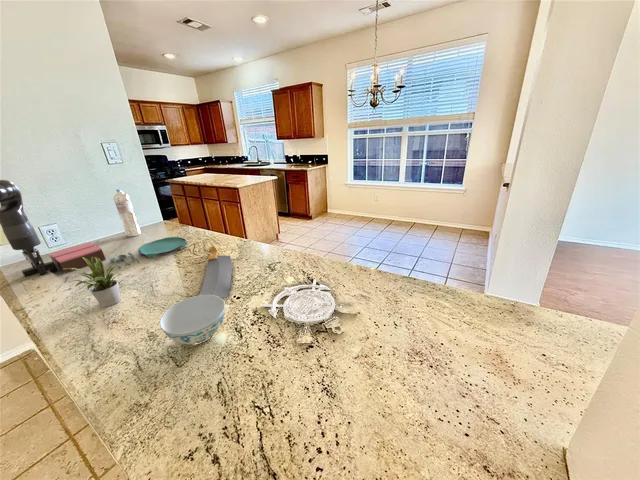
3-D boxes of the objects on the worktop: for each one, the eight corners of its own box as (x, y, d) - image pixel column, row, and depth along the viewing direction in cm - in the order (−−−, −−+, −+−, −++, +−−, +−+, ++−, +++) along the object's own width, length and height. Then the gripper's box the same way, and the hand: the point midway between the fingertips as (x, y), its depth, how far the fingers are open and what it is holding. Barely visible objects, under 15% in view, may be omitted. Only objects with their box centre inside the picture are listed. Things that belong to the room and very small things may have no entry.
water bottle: (123, 236, 142) (106, 190, 132) (135, 232, 148) (119, 187, 138) (133, 237, 140) (116, 191, 130) (144, 232, 146) (129, 188, 136)
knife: (27, 281, 101) (22, 272, 99) (26, 279, 102) (21, 270, 101) (96, 258, 118) (92, 250, 116) (94, 257, 119) (90, 249, 117)
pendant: (309, 277, 94) (309, 273, 93) (370, 314, 74) (370, 310, 73) (254, 301, 82) (254, 298, 81) (309, 355, 61) (309, 350, 61)
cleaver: (233, 248, 119) (231, 300, 84) (209, 252, 117) (197, 307, 82) (231, 242, 118) (229, 291, 83) (207, 245, 115) (195, 298, 80)
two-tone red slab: (65, 273, 105) (59, 261, 103) (54, 265, 113) (49, 254, 111) (106, 259, 116) (101, 248, 114) (94, 253, 123) (89, 242, 121)
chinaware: (170, 327, 73) (163, 304, 70) (227, 311, 78) (222, 289, 75) (165, 368, 60) (156, 342, 57) (233, 345, 65) (227, 320, 62)
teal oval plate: (194, 247, 124) (193, 242, 123) (119, 272, 104) (117, 267, 103) (177, 237, 136) (176, 233, 135) (107, 259, 116) (105, 254, 115)
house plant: (69, 310, 82) (45, 264, 76) (116, 286, 94) (98, 245, 88) (95, 320, 77) (72, 272, 70) (141, 294, 88) (125, 251, 82)
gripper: (3, 235, 99) (24, 272, 106) (11, 242, 92) (33, 281, 98) (30, 228, 105) (49, 264, 111) (40, 234, 97) (59, 273, 104)
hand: (41, 272), depth 105 cm, fingers open, 8 cm apart
